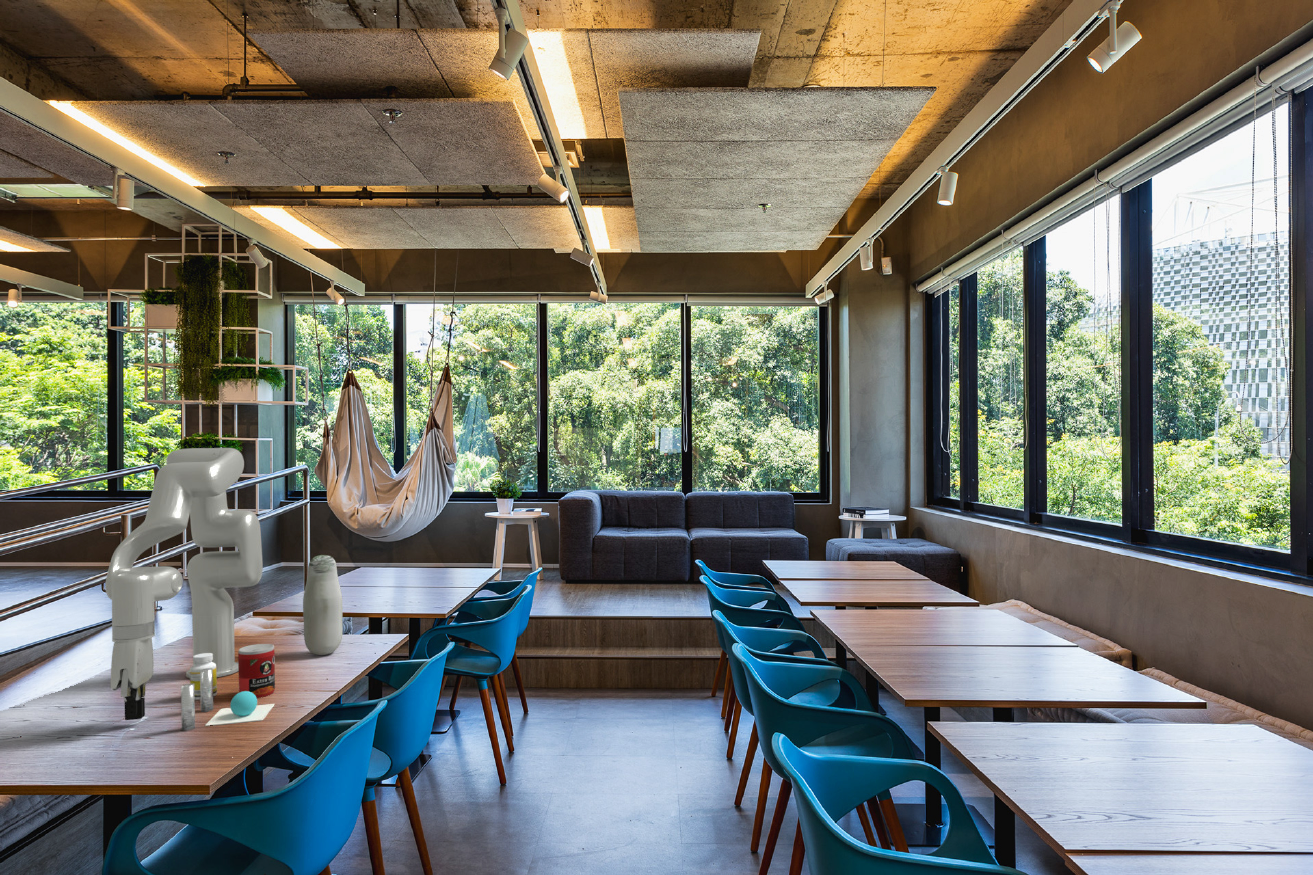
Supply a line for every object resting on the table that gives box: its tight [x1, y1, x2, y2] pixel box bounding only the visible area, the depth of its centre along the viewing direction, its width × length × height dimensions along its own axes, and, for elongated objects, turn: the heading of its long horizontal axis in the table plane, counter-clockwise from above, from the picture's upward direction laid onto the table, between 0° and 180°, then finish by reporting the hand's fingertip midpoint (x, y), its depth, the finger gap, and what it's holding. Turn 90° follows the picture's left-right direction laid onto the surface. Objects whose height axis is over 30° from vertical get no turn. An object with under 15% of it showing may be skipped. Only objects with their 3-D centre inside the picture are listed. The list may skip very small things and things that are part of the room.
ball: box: [229, 691, 258, 716], centre depth 169 cm, size 5×5×5 cm
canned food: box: [237, 643, 276, 699], centre depth 185 cm, size 8×8×11 cm
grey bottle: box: [302, 554, 343, 656], centre depth 221 cm, size 10×10×28 cm
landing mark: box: [205, 703, 275, 727], centre depth 170 cm, size 11×11×1 cm
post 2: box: [200, 668, 214, 713], centre depth 174 cm, size 2×2×9 cm
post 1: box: [180, 683, 196, 732], centre depth 162 cm, size 2×2×9 cm
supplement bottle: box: [189, 653, 218, 701], centre depth 184 cm, size 5×5×10 cm
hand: (134, 717), depth 165 cm, fingers closed
